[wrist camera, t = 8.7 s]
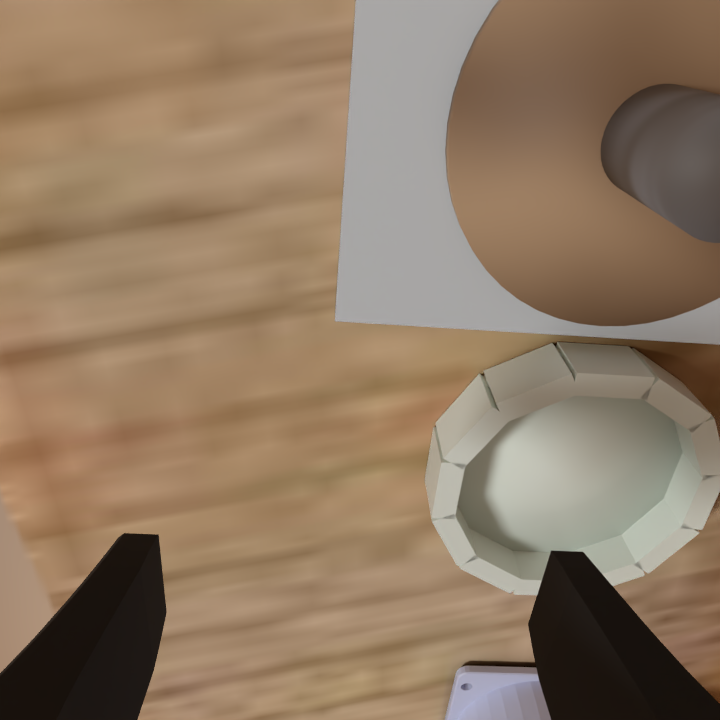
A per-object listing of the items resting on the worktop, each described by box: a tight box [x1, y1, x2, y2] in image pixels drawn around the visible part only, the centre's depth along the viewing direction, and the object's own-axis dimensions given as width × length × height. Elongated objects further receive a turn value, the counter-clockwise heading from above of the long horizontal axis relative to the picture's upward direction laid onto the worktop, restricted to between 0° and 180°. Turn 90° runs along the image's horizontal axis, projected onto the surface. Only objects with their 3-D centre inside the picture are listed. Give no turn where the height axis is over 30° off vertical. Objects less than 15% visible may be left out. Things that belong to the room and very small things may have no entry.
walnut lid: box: [445, 0, 720, 326], centre depth 15 cm, size 11×11×5 cm
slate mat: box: [335, 0, 720, 345], centre depth 17 cm, size 12×16×1 cm
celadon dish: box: [425, 342, 720, 595], centre depth 22 cm, size 10×10×2 cm
